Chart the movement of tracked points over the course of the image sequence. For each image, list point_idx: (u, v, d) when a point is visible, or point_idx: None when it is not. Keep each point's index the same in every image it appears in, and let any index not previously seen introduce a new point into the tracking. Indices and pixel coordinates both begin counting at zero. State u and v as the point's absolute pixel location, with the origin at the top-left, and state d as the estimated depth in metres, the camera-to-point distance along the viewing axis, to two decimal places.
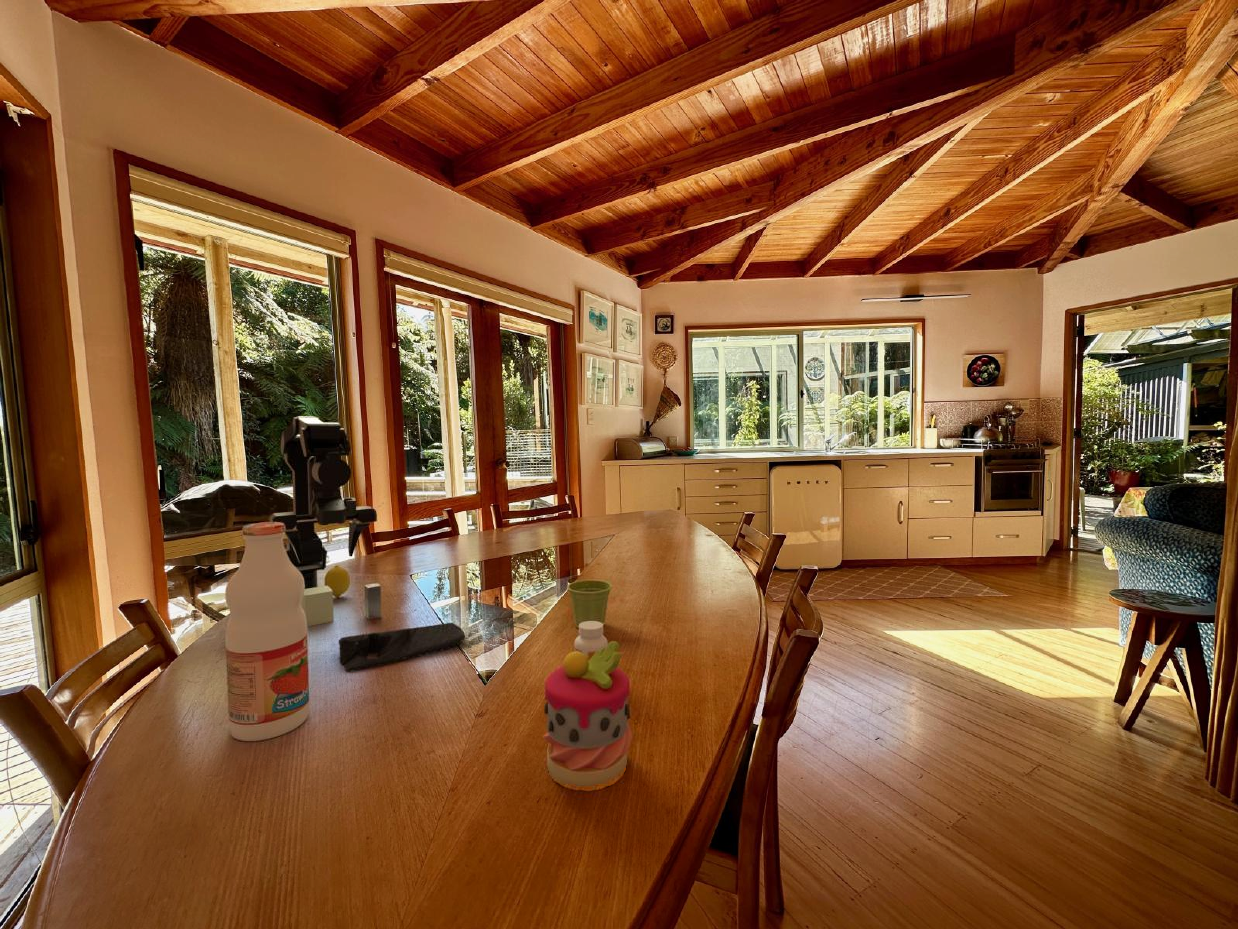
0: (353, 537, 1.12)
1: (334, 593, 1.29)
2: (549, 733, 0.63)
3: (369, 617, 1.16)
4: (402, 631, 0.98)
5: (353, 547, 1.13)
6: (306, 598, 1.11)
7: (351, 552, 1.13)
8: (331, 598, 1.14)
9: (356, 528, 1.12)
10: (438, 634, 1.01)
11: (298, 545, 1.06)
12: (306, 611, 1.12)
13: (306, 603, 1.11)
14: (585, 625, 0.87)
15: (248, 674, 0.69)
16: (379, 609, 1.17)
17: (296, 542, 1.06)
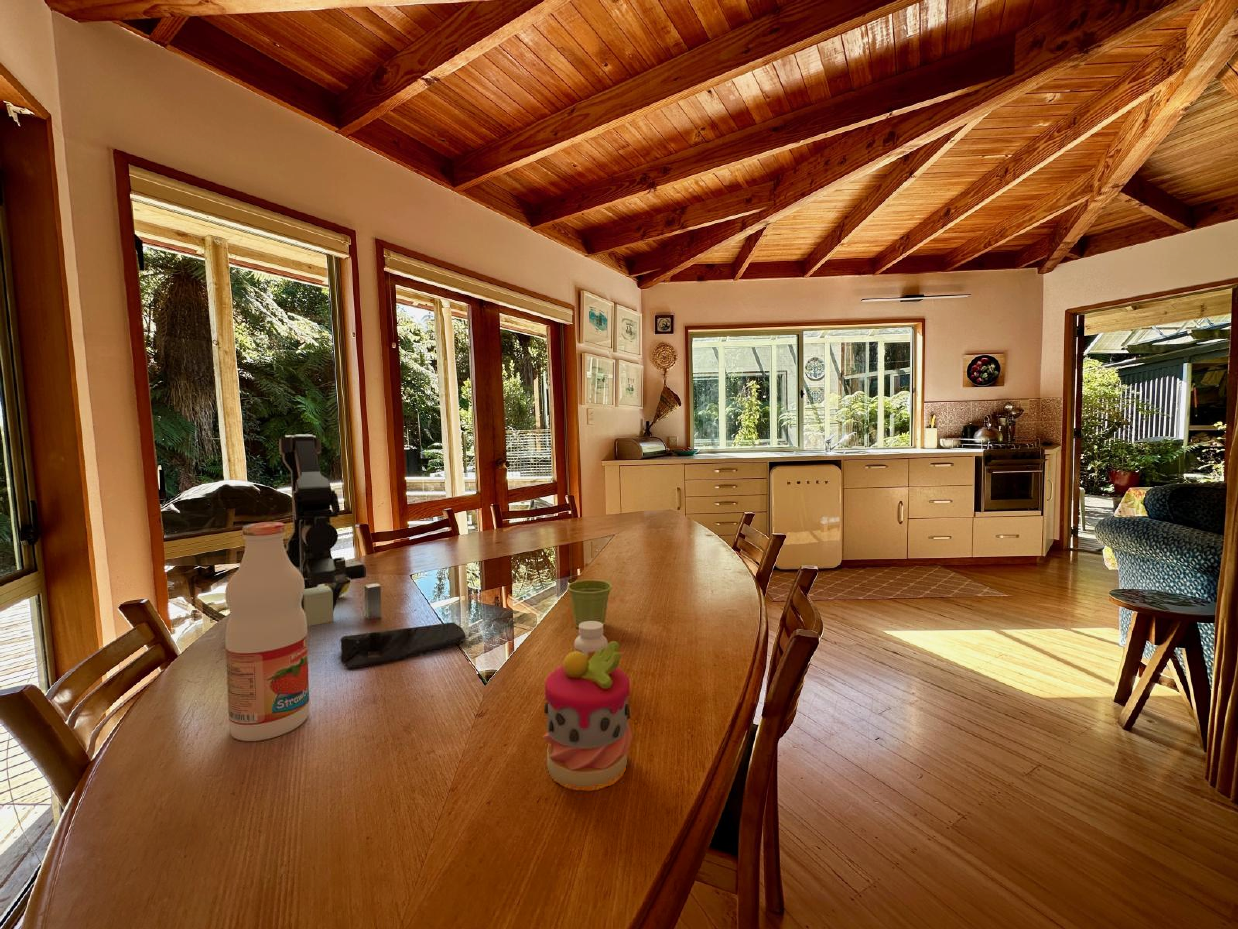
0: (334, 594, 1.16)
1: None
2: (549, 733, 0.63)
3: (369, 617, 1.16)
4: (403, 630, 0.99)
5: (334, 604, 1.16)
6: (306, 598, 1.11)
7: None
8: (331, 598, 1.14)
9: (336, 586, 1.15)
10: (439, 633, 1.02)
11: None
12: (306, 611, 1.12)
13: (306, 603, 1.11)
14: (585, 625, 0.87)
15: (248, 674, 0.69)
16: (379, 609, 1.17)
17: None
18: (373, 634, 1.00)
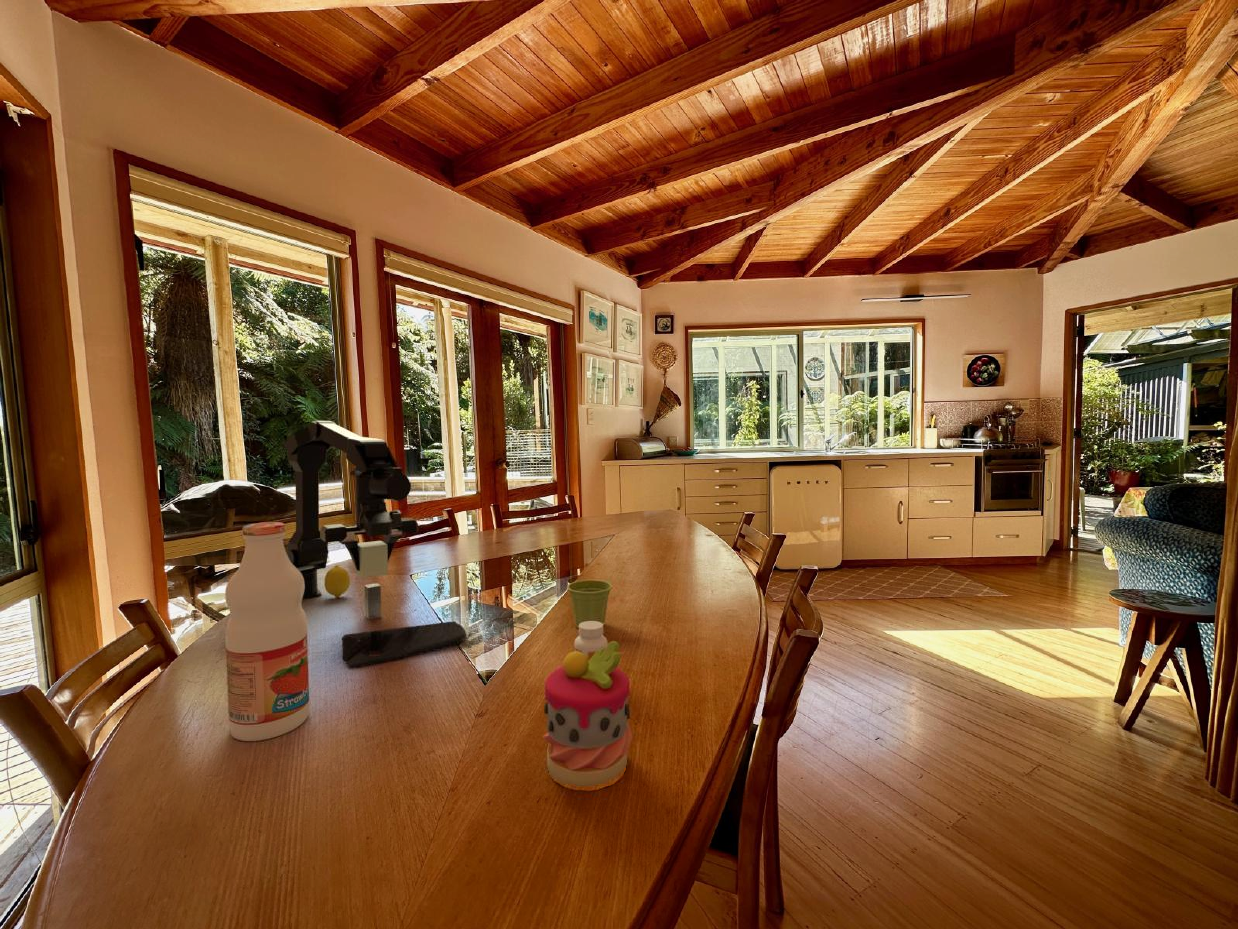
0: (388, 548, 1.18)
1: (334, 593, 1.29)
2: (549, 733, 0.63)
3: (369, 617, 1.16)
4: (404, 629, 0.99)
5: (388, 558, 1.18)
6: (363, 550, 1.13)
7: None
8: (386, 551, 1.16)
9: (391, 540, 1.17)
10: (439, 632, 1.02)
11: (356, 554, 1.14)
12: (363, 563, 1.13)
13: (363, 555, 1.13)
14: (585, 625, 0.87)
15: (248, 674, 0.69)
16: (379, 609, 1.17)
17: (355, 551, 1.14)
18: (374, 633, 1.00)
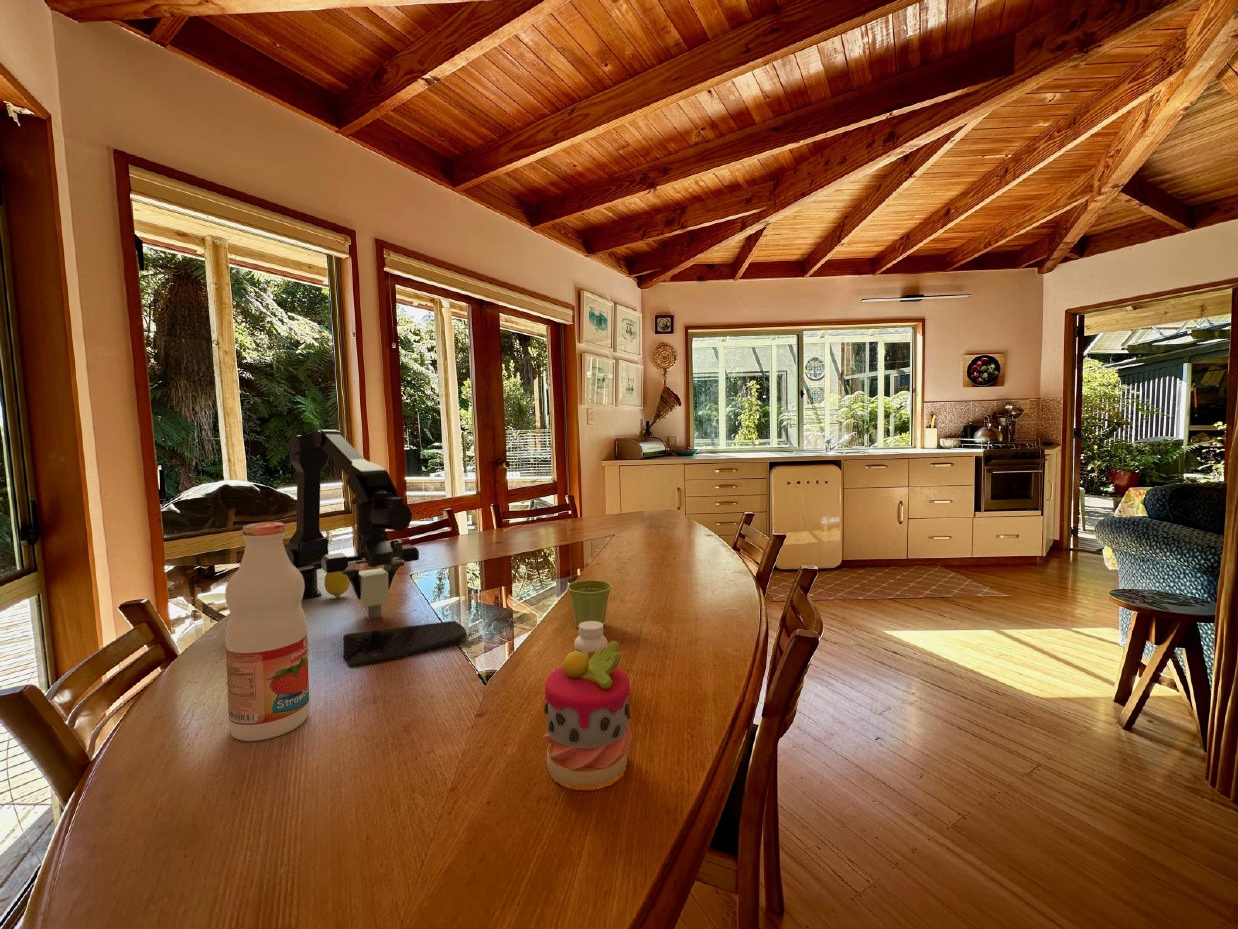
0: (388, 576, 1.18)
1: (334, 593, 1.29)
2: (549, 733, 0.63)
3: (369, 617, 1.16)
4: (404, 628, 1.00)
5: None
6: (364, 579, 1.14)
7: None
8: (387, 580, 1.17)
9: (392, 568, 1.17)
10: (440, 632, 1.02)
11: (357, 583, 1.14)
12: (364, 592, 1.14)
13: (364, 584, 1.14)
14: (585, 625, 0.87)
15: (248, 674, 0.69)
16: (379, 609, 1.17)
17: (356, 580, 1.14)
18: (375, 632, 1.01)
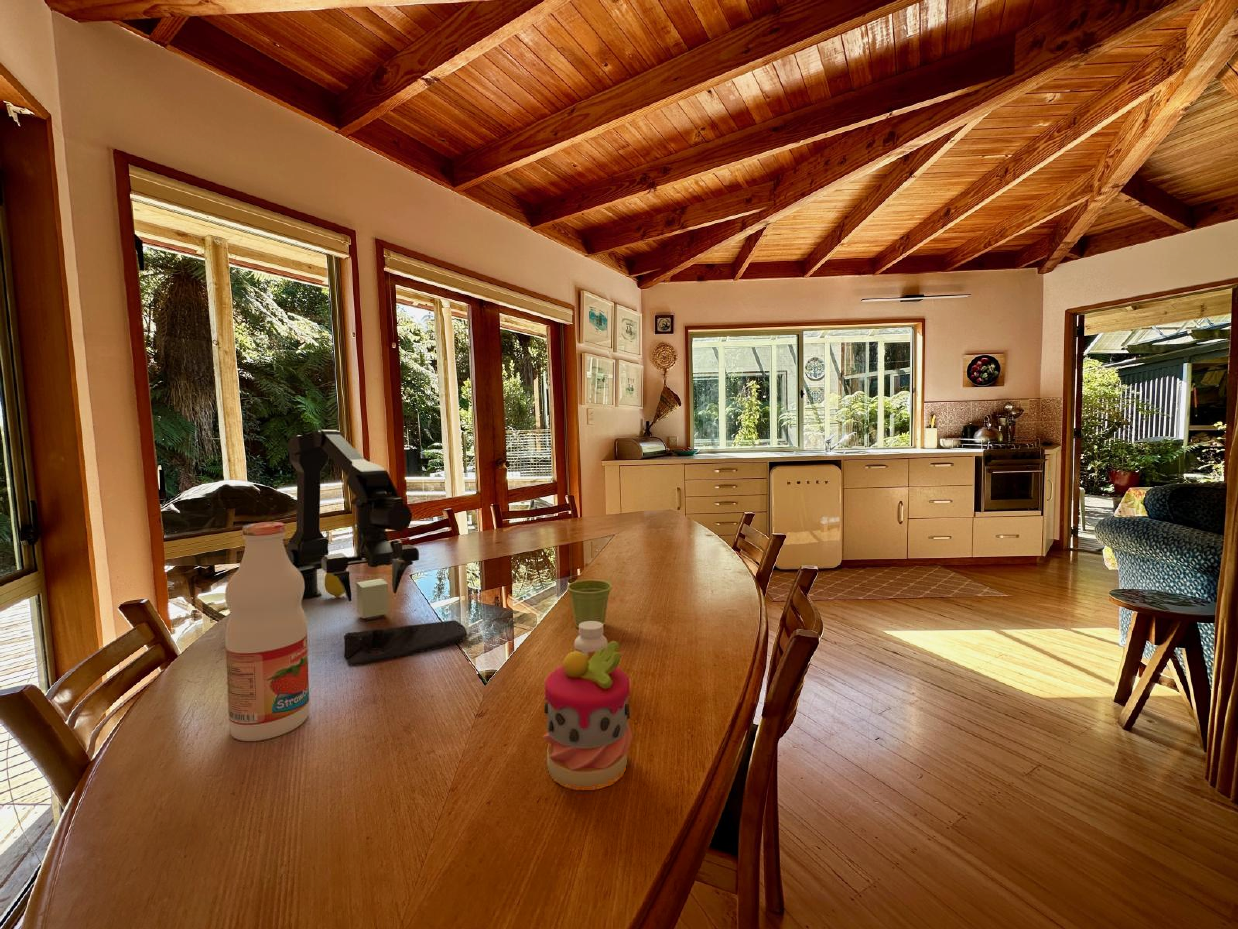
0: (397, 575, 1.19)
1: (334, 593, 1.29)
2: (549, 733, 0.63)
3: (369, 617, 1.16)
4: (405, 628, 1.00)
5: (397, 584, 1.20)
6: (363, 590, 1.14)
7: (395, 589, 1.20)
8: (386, 590, 1.17)
9: (400, 567, 1.19)
10: (440, 631, 1.03)
11: (348, 585, 1.13)
12: (363, 603, 1.14)
13: (363, 595, 1.14)
14: (585, 625, 0.87)
15: (248, 674, 0.69)
16: None
17: (346, 582, 1.13)
18: (376, 631, 1.01)
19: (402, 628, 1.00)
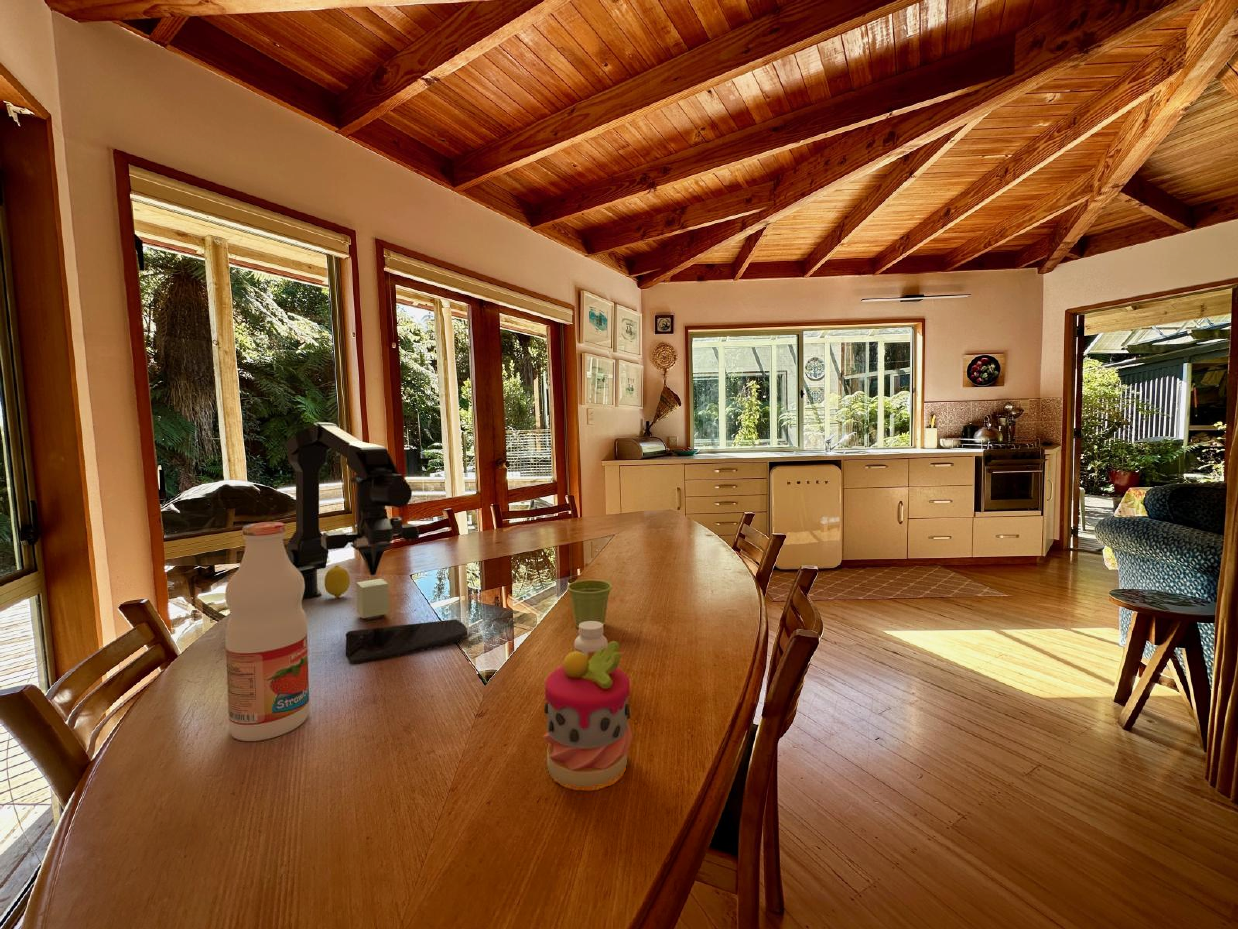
0: (376, 557, 1.16)
1: (334, 593, 1.29)
2: (549, 733, 0.63)
3: (369, 617, 1.16)
4: (406, 626, 1.01)
5: (376, 566, 1.17)
6: (363, 590, 1.14)
7: (374, 571, 1.17)
8: (386, 590, 1.17)
9: (379, 548, 1.15)
10: (441, 630, 1.03)
11: (370, 559, 1.16)
12: (363, 603, 1.14)
13: (363, 595, 1.14)
14: (585, 625, 0.87)
15: (248, 674, 0.69)
16: None
17: (369, 556, 1.15)
18: (377, 629, 1.02)
19: (403, 626, 1.01)
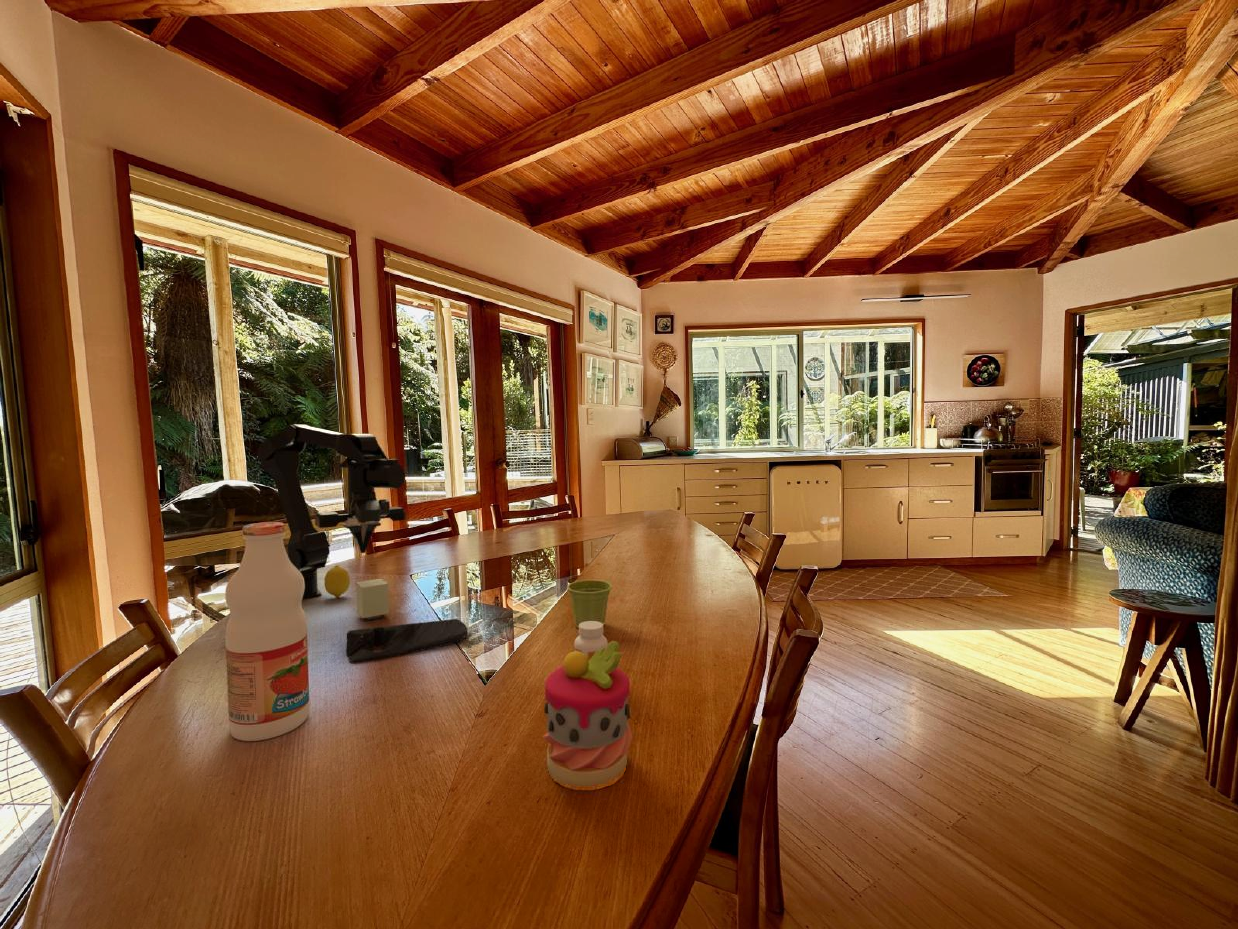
0: (366, 535, 1.26)
1: (334, 593, 1.29)
2: (549, 733, 0.63)
3: (369, 617, 1.16)
4: (406, 626, 1.01)
5: (366, 544, 1.26)
6: (363, 590, 1.14)
7: (364, 549, 1.26)
8: (386, 590, 1.17)
9: (368, 527, 1.25)
10: (441, 630, 1.04)
11: (360, 538, 1.25)
12: (363, 603, 1.14)
13: (363, 595, 1.14)
14: (585, 625, 0.87)
15: (248, 674, 0.69)
16: None
17: (359, 535, 1.25)
18: (378, 629, 1.02)
19: (403, 626, 1.01)
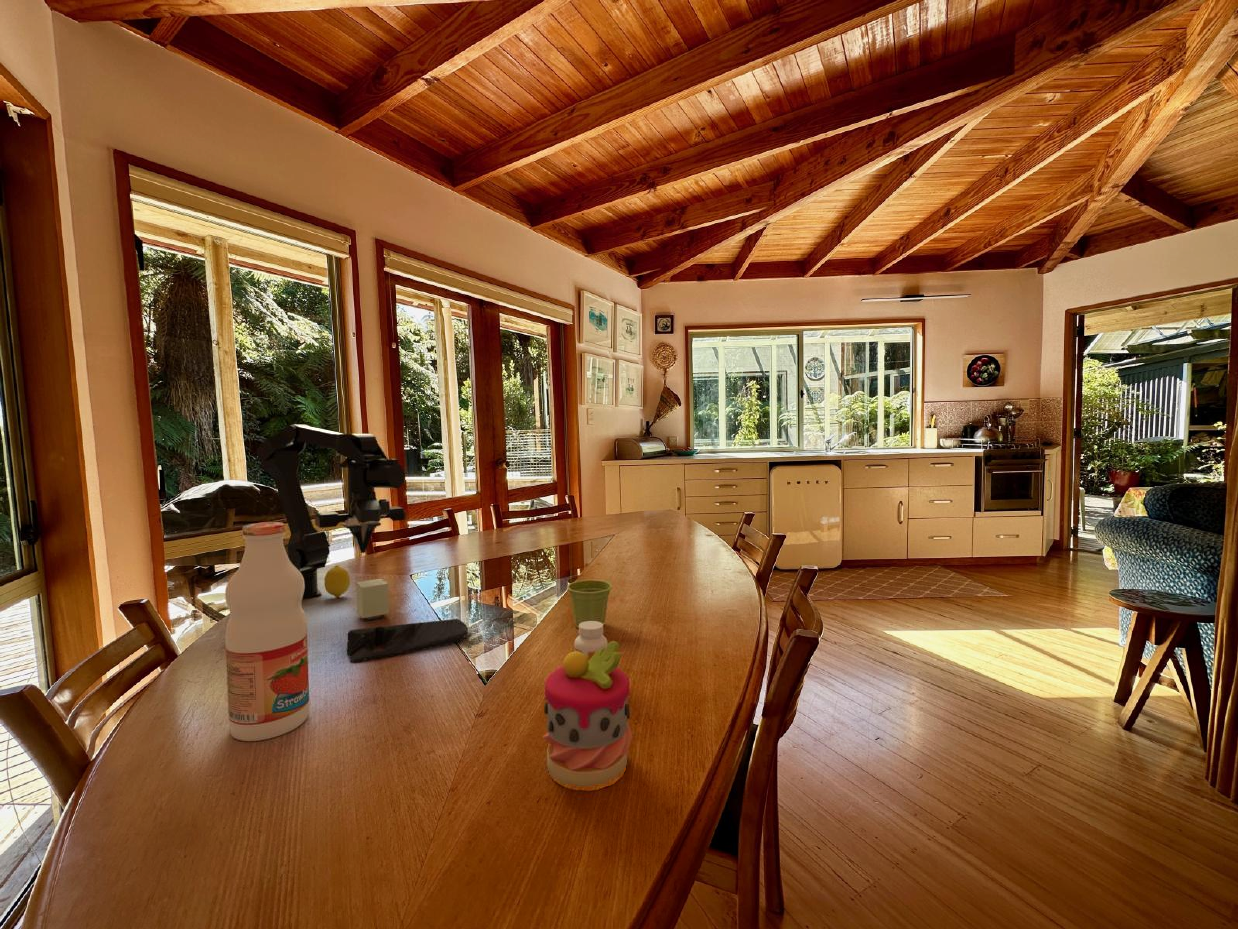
0: (366, 535, 1.26)
1: (334, 593, 1.29)
2: (549, 733, 0.63)
3: (369, 617, 1.16)
4: (407, 625, 1.01)
5: (366, 544, 1.26)
6: (363, 590, 1.14)
7: (364, 549, 1.26)
8: (386, 590, 1.17)
9: (369, 527, 1.25)
10: (441, 629, 1.04)
11: (360, 538, 1.25)
12: (363, 603, 1.14)
13: (363, 595, 1.14)
14: (585, 625, 0.87)
15: (248, 674, 0.69)
16: None
17: (359, 535, 1.25)
18: (379, 628, 1.03)
19: (404, 626, 1.01)
